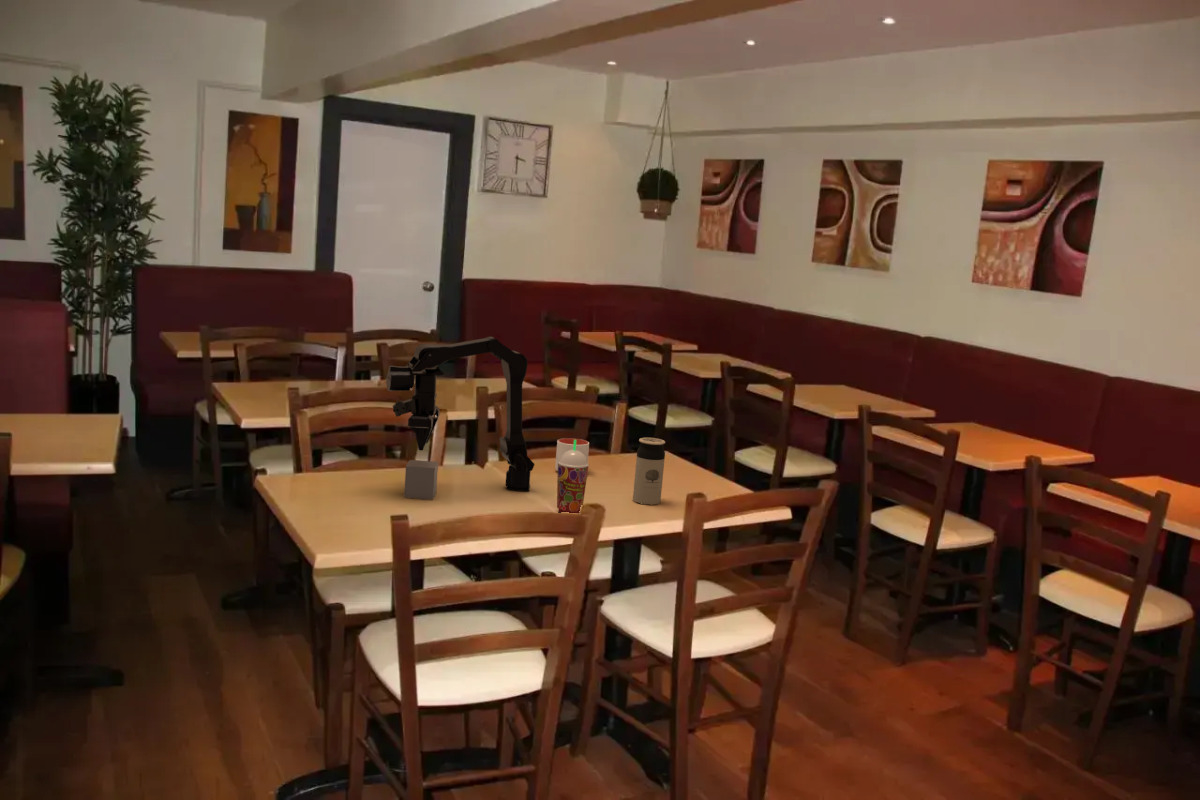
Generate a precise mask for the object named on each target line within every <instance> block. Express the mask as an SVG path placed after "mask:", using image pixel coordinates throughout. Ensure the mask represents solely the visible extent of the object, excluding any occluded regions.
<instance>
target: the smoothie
mask: <svg viewBox="0 0 1200 800" xmlns="http://www.w3.org/2000/svg"><path fill="white" fill-rule="evenodd" d="M589 466H590V463H589V461H588V462H587V459H586V457H585V455H584V454H583V453H582V452H580V451H578V450H576V440H574V445H573V450H569V451H566V452H565V453H564V454H563V455H562V456H561V458H560V460H559V461H558V472H557V479H556V482H557V488H556V491H557V492H556V493H557V494H556V495H557V496H556V507H557V509H558V512H569V513H579V511H580V507H581V505H583V506H584V499H585V493H586V487H587V479H588V471H589ZM580 512H581V511H580Z"/></svg>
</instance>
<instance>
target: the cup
mask: <svg viewBox="0 0 1200 800" xmlns="http://www.w3.org/2000/svg"><path fill="white" fill-rule="evenodd" d="M574 440H576V450H578V451H580V452H582V453H583V454H584V455H585V457H586V459H587V462H588V463H589V450H590V442H589V441H587V440H584V439H580V438H573V437H572V438H571V437H570V438H569V437H565V438H559V439H557V441H556V443H557V444H556V454H555V465H554V466H555V467H554V468H555V470H557V471H558V461H559V460H560V458H561V456H562V455H563V454H564V453H565V452H566V451H569V450H573V445H574ZM557 471H556V472H557Z"/></svg>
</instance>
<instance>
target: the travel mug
mask: <svg viewBox="0 0 1200 800" xmlns="http://www.w3.org/2000/svg"><path fill="white" fill-rule="evenodd" d="M638 442H639V446H638V448H637V450H636V459H635V471H634V472H635V473H634V481H633V491H632V500H633V501H634V502H635V503H637V502H638V503H637V504H639V503H642V504H641V505H644V504H656V505H659V504H660V503H661V499H662V489H663V479H664V478H663V477H664V469H665V468H664V467H665V458H666V452H665V449H664V446H665V444H666V441H665V440H663V439H661V438H655V437H642V438H641V437H640V438H639V440H638Z"/></svg>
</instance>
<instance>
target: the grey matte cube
mask: <svg viewBox="0 0 1200 800" xmlns="http://www.w3.org/2000/svg"><path fill="white" fill-rule="evenodd" d="M438 468H439V461H431V460H417V459H409V461H408V462H407V464H406V465H405V475H404V493H403V494H404V495H403V498H404V497H410V498H409V499H412V498H420V499H419V500H426V499H433V498H435V497H436V494H437V488H438V487H437V485H438V471H439V469H438ZM433 500H434V499H433Z"/></svg>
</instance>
